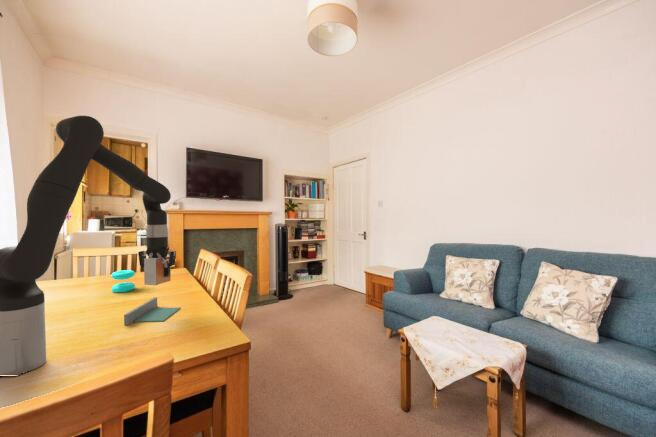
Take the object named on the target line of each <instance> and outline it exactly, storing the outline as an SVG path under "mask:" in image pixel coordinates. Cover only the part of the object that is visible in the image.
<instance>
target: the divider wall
mask: <svg viewBox="0 0 656 437" xmlns="http://www.w3.org/2000/svg"><path fill="white" fill-rule="evenodd" d="M153 308H158V297H153V298H151V299H149V300H147V301H146V302H144V303H143V304H141V305H139V306H137V307H134V309H132V310H130V311H128V312H126V313H124V314H123V321H124V322H123V325H124V326H128V325H129V326H130V325H131V324H132V323H135V322H134V321H135V320H136V319H138V318H139V317H141V316H142V315H144V314H146V313H147V312H149V311H150V310H152V309H153Z"/></svg>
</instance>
